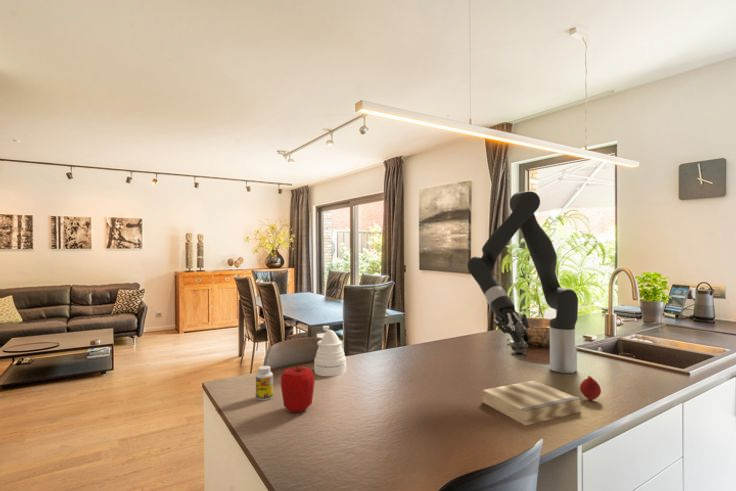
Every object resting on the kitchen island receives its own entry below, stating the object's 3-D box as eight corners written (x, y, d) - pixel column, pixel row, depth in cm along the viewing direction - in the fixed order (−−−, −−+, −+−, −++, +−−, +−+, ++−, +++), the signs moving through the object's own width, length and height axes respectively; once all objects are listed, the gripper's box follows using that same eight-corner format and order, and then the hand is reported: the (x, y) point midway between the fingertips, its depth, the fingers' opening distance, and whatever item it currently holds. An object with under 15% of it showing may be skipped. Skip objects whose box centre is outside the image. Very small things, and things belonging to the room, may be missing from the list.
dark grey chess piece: (529, 357, 133) (529, 322, 133) (511, 356, 134) (511, 321, 134) (526, 353, 139) (526, 319, 139) (509, 352, 140) (509, 318, 140)
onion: (598, 398, 130) (598, 374, 130) (602, 404, 125) (602, 379, 125) (578, 396, 132) (578, 372, 132) (582, 402, 127) (581, 377, 127)
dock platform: (533, 391, 136) (533, 379, 136) (580, 412, 120) (580, 398, 120) (482, 402, 127) (482, 389, 127) (525, 425, 111) (525, 410, 111)
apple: (298, 419, 115) (298, 373, 115) (273, 412, 121) (273, 367, 121) (321, 407, 124) (321, 364, 124) (297, 400, 130) (296, 359, 130)
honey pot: (308, 374, 157) (308, 328, 157) (323, 364, 169) (323, 322, 169) (337, 377, 152) (337, 331, 152) (351, 368, 164) (351, 324, 164)
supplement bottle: (252, 400, 130) (252, 369, 130) (261, 394, 136) (261, 364, 136) (267, 402, 129) (267, 370, 129) (276, 395, 134) (275, 365, 134)
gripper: (488, 295, 141) (512, 337, 130) (519, 293, 146) (545, 333, 135) (478, 308, 146) (501, 349, 134) (509, 306, 151) (533, 345, 140)
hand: (523, 341), depth 135 cm, fingers closed on dark grey chess piece, 3 cm apart
